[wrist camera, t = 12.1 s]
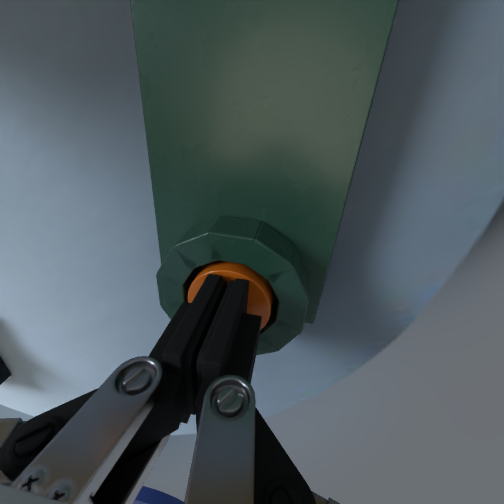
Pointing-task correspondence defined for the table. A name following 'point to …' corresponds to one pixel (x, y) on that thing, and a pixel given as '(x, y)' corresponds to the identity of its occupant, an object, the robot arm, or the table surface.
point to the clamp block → (3, 372)
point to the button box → (256, 137)
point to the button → (258, 285)
